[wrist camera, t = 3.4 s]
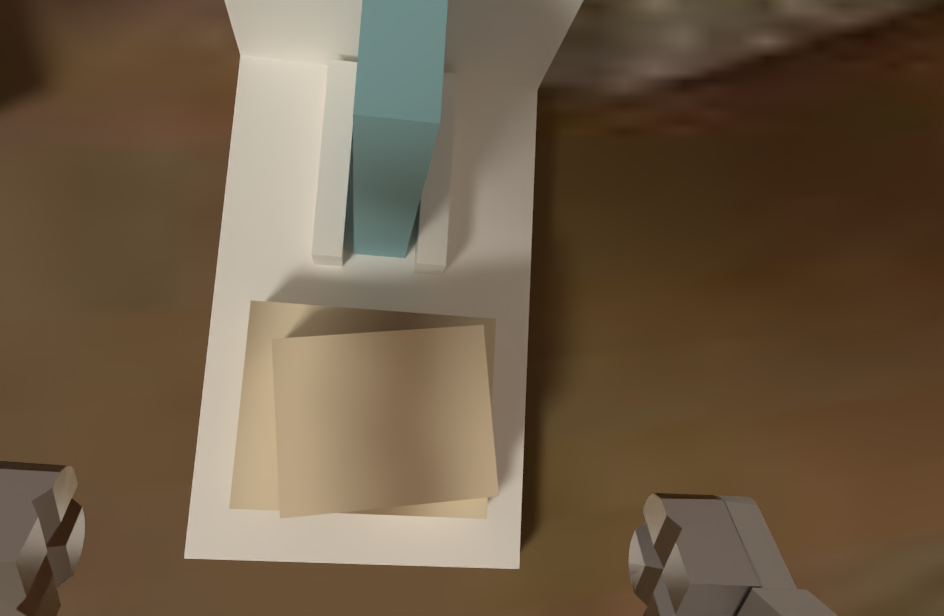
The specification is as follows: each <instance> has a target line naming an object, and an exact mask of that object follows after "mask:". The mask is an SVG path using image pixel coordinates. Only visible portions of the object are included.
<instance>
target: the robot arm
mask: <svg viewBox="0 0 944 616" xmlns="http://www.w3.org/2000/svg"><path fill="white" fill-rule="evenodd" d="M77 485H78V484H77V480H76V476H75V472H74V468H73V467H70V466H65V465H51V464H37V463H23V462H9V461H0V616H56V615H57V613H58V611H59V608H60V606H61V604H60V600H59V596H58V592H57V588H58V587H59V586H60V585H62V584H63V583H64V582H66V581H67V580H68V579H69V578H71V577H72V576H73V574H74V571H75V569H76V566H77V564H78V561H79V559H80V555H81V550H82V545H83V540H84V536H85V519H84V513H83V508H82V506H81V505H79V504H78V503H77V502H76V501H74V500H73V499H72V496H73V494H74V492H75V489H76V487H77ZM643 512H644V515H645V519H646V523H644V524H643V525H641V526H640V527H639V528H637V529H636V530H635V531H634V534H633V537H632V540H631V543H630V550H629V571H630V579H631V583H632V587H633V590H634V593H635V594H636V595H637V596H638V597H639V598H640V599H641V600H642V601H643V602H644V603H645V604H646V605H647V608H646V611H645V613H644V615H643V616H838V615H836V614H835V613H834V612H833V611H832V610H830V609H829V608H828V607H827V606H826V605H824V604H823V603H822V602H821V601H820V600H819V599H817V598H816V597H815V596H814V595H813V594H811V593H810V592H809V591H808V590H804V589H797V587H796V585H795V583H794V581H793V579H792V577H791V575H790V573H789V571H788V568H787V566H786V564H785V562H784V560H783V558H782V556H781V554H780V552H779V550H778V547H777V545H776V543H775V541H774V539H773V537H772V535H771V533H770V531H769V529H768V527H767V524H766V522H765V520H764V518H763V516H762V514H761V512H760V510H759V508H758V506H757V504H756V502H755V501H754V500H753V499H752V498H751V497H738V496H714V495H696V494H668V493H653V494H652V495H651V496H650V497H649V498H648V499H647V501H646V503H645V506H644V508H643Z"/></svg>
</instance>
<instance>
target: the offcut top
mask: <svg viewBox="0 0 944 616" xmlns="http://www.w3.org/2000/svg"><path fill="white" fill-rule="evenodd" d="M272 359H273V380H274V402H275V423H276V444H277V465H278V487H279V508H280V519H281V518H291V517H301V516H310V515H320V514H330V513H340V512H350V511H359V510H369V509H379V508H389V507H399V506H409V505H418V504H428V503H438V502H448V501H458V500H468V499H477V498H487V497H497V496H499V490H498V479H497V468H496V457H495V446H494V435H493V424H492V413H491V402H490V391H489V380H488V369H487V358H486V347H485V336H484V325H473V326H458V327H443V328H428V329H413V330H398V331H383V332H368V333H353V334H338V335H322V336H307V337H292V338H277V339H272Z"/></svg>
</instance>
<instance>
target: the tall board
mask: <svg viewBox="0 0 944 616" xmlns="http://www.w3.org/2000/svg"><path fill="white" fill-rule="evenodd" d="M447 7H448V0H362V12H361V24H360V36H359V48H358V60H357V72H356V84H355V96H354V108H353V219H354V254H360V255H372V256H384V257H396V258H405V255H406V251H407V247H408V243H409V240H410V236H411V232H412V228H413V225H414V221H415V217H416V213H417V210H418V206H419V202H420V198H421V194H422V191H423V187H424V183H425V179H426V176H427V172H428V168H429V164H430V161H431V157H432V153H433V149H434V146H435V142H436V138H437V134H438V131H439V127H440V121H441V105H442V89H443V72H444V56H445V40H446V24H447Z"/></svg>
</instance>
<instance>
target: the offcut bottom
mask: <svg viewBox="0 0 944 616" xmlns="http://www.w3.org/2000/svg"><path fill="white" fill-rule="evenodd" d="M473 325H484V336H485V347H486V358H487V369H488V380H489V391H490V402H491V413H492V396H493V374H494V353H495V331H496V319H492V318H479V317H465V316H452V315H439V314H425V313H412V312H399V311H385V310H372V309H359V308H345V307H332V306H319V305H305V304H292V303H279V302H265V301H252V300H251V303H250V312H249V322H248V332H247V341H246V351H245V361H244V370H243V380H242V390H241V399H240V409H239V419H238V428H237V438H236V448H235V457H234V467H233V477H232V486H231V496H230V506H229V509H248V510H273V511H280V508H279V487H278V465H277V444H276V423H275V402H274V380H273V359H272V339H277V338H292V337H307V336H322V335H338V334H353V333H368V332H383V331H398V330H413V329H428V328H443V327H458V326H473ZM487 505H488V497H487V498H477V499H468V500H458V501H448V502H438V503H428V504H418V505H409V506H399V507H389V508H379V509H369V510H359V511H350V512H340V513H348V514H373V515H398V516H423V517H448V518H473V519H487Z"/></svg>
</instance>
